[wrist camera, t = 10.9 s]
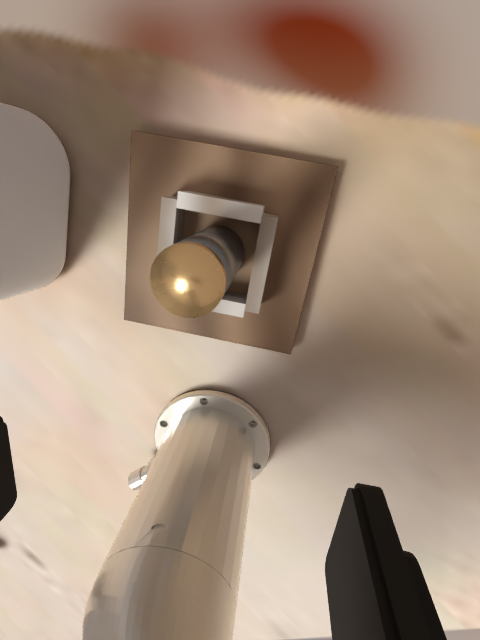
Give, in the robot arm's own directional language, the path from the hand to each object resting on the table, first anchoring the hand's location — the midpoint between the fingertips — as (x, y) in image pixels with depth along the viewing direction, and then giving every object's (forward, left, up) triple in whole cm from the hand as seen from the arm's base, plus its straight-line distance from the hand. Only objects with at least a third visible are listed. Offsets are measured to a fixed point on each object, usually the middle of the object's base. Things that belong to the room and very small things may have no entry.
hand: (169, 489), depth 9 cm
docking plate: (-1, +4, -23) cm, 23 cm away
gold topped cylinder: (-1, +4, -22) cm, 22 cm away
